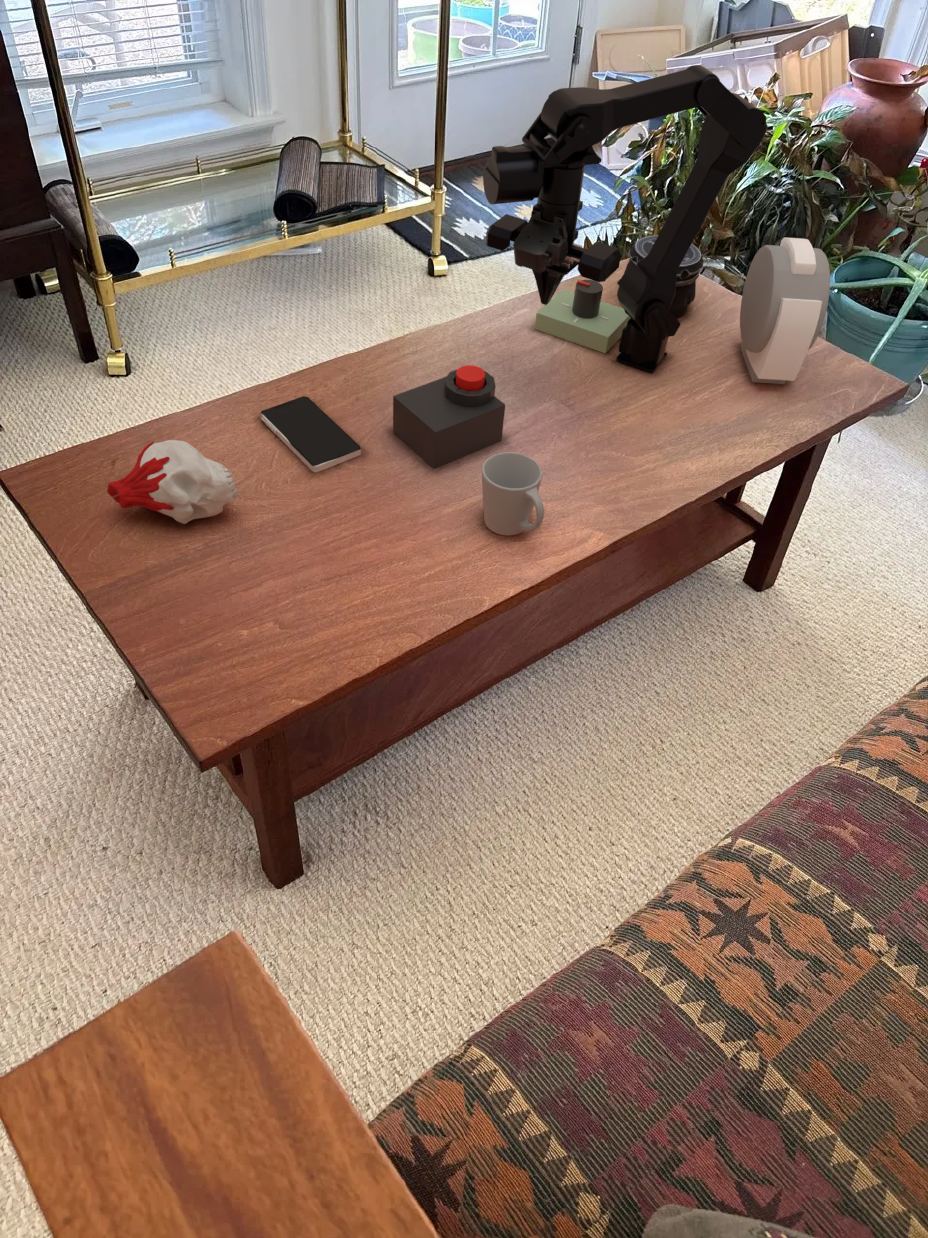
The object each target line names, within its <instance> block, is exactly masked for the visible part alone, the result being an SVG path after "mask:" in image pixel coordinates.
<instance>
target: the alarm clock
mask: <svg viewBox="0 0 928 1238" xmlns="http://www.w3.org/2000/svg"><path fill="white" fill-rule="evenodd" d="M828 260H829V259H828V257H827V255H826V253H825V252H824V251H823V250H822V249H821V248H816V247H813V245H812V243H811V242H810V240H809V239H808V238H801V237H800V238H798V237H782V239H781V241H780V244H779V245H771V244H765V245H763V246H762V247H760V248H759V249H758V250H757V251H756V252H755V255H754V257H753V259H752V260H751V263H750V265H749V268H748V271H747V274H746V277H745V281H744V284H743V289H742V295H741V301H740V302H741V303H740V310H739V331H740V338H741V343H740V350H741V352H742V357H743V359H744V362H745V366H746V368H747V371H748V374H749V378H750V380H751V383H760V384H776V385H786V382H787V381H792V382H793V381H794V382H795V381H796V379H797V377H798V374H799V372H800V370H801V368H802V366H803V364H804V362H805V359H806V356H807V354H808V352H809V350H811V348H812V347H813V346H814V344H815V342H816V341H817V339H818V337H819V336H820V333H821V331H822V327H823V324H824V322H825V318H826V314H827V309H828V304H829V298H830V290H831V269H830V263H829V261H828Z"/></svg>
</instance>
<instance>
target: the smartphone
mask: <svg viewBox="0 0 928 1238" xmlns="http://www.w3.org/2000/svg"><path fill="white" fill-rule="evenodd" d="M259 415H260V420H261V421H262V423H264V424H265V425H266V426H267V427H268V428H269V430H271V432H272V433H273V434H274V435H275V436H277V437H278V438H279V439H280V440H281V441H282V442H283V444H285V446H287V448H289V450H290V451H291V452H292V453H294V455H295V456H296V457H297V458H298V459H300V460H301V462H302V463H303V464H304V465H305V466H306V467H307V468H308V469H309V470H310V471H311V472H312V473H319V472H322V471H324V470H327V469H329V468H331V467H334V466H336V465H340V464H341V463H344V462H347V461H350V460H352V459H354V458H357V457H359V456H361V455H362V447H361V445H359V443H357V442H356V441H355V440H354V439H353V438H352V437H351V436H350V435H349V433H346V431H344V429H343V428H342V427H340V426H339V424H337V423H336V422H335V421H334V420H333V419H332V418H331V417H330V416H329V415H328V414H327V413H326V412H325V411H323V410H322V409H321V408H320V407H319V405H317V404H316V403H315V402H314V401H313V400H312V399H311V398H310V397H308V396H305V395H302V396H300V397H297V398H295V399H292V400H288V401H285V402H282V403H280V404H277V405H274V406H271V407H269V408H265V409H263V410H261V411H260V414H259Z"/></svg>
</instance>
